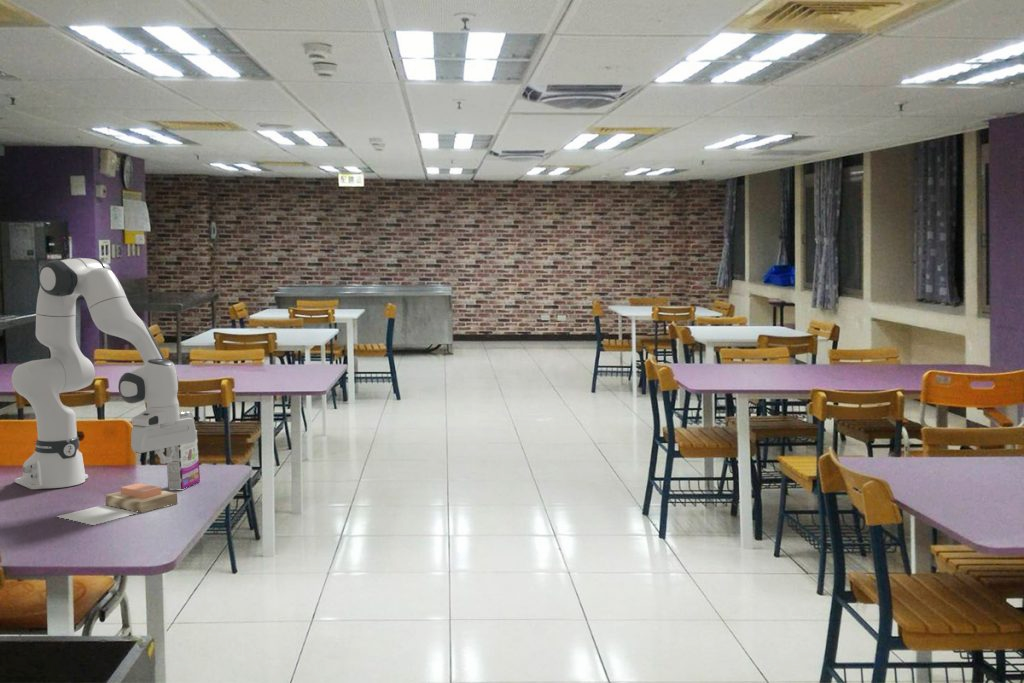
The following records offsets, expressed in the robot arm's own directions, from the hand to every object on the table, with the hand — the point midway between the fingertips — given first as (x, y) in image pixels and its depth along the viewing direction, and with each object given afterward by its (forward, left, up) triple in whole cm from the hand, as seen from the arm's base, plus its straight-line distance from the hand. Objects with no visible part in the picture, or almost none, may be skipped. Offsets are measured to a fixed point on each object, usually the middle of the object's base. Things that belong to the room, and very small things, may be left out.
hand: (166, 462), depth 301 cm
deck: (-1, -9, -11) cm, 14 cm away
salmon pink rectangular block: (-1, -9, -8) cm, 11 cm away
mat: (-1, -23, -11) cm, 25 cm away
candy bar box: (-9, +12, -11) cm, 19 cm away
